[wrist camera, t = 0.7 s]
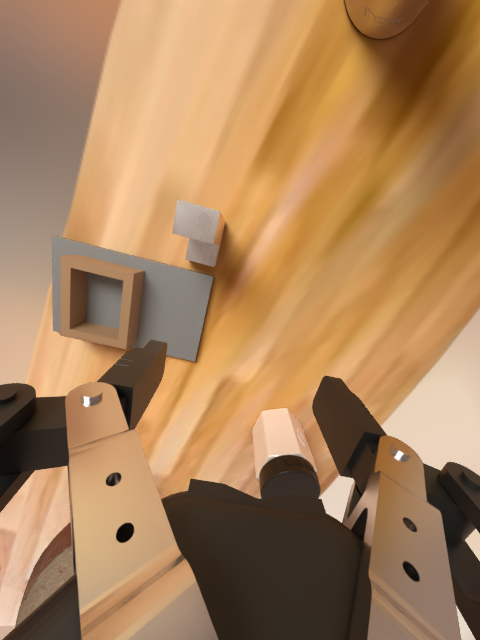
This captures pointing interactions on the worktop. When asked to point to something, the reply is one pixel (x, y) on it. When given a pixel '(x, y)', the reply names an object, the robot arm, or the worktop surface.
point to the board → (126, 299)
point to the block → (199, 231)
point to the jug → (48, 573)
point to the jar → (283, 456)
